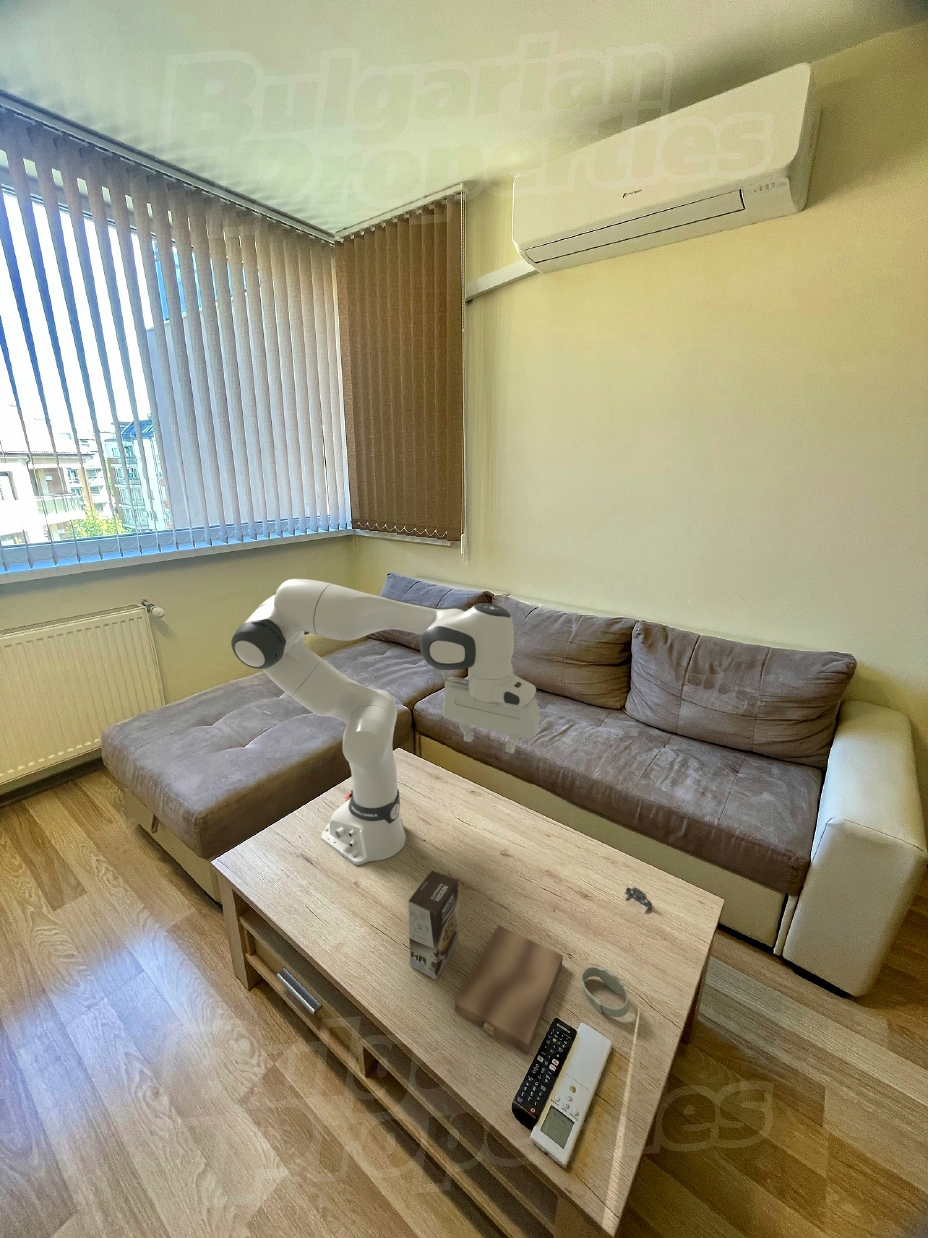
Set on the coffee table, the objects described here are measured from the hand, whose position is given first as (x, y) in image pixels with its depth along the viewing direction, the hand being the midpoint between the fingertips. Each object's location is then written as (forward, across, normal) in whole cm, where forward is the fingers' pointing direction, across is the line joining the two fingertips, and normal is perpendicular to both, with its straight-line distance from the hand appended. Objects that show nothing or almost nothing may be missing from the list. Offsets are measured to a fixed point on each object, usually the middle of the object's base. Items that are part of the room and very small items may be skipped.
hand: (489, 745), depth 102 cm
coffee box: (+39, -3, -18) cm, 43 cm away
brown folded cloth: (+40, +13, -17) cm, 45 cm away
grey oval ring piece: (+39, +29, -11) cm, 50 cm away
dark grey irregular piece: (+40, +35, +12) cm, 54 cm away
